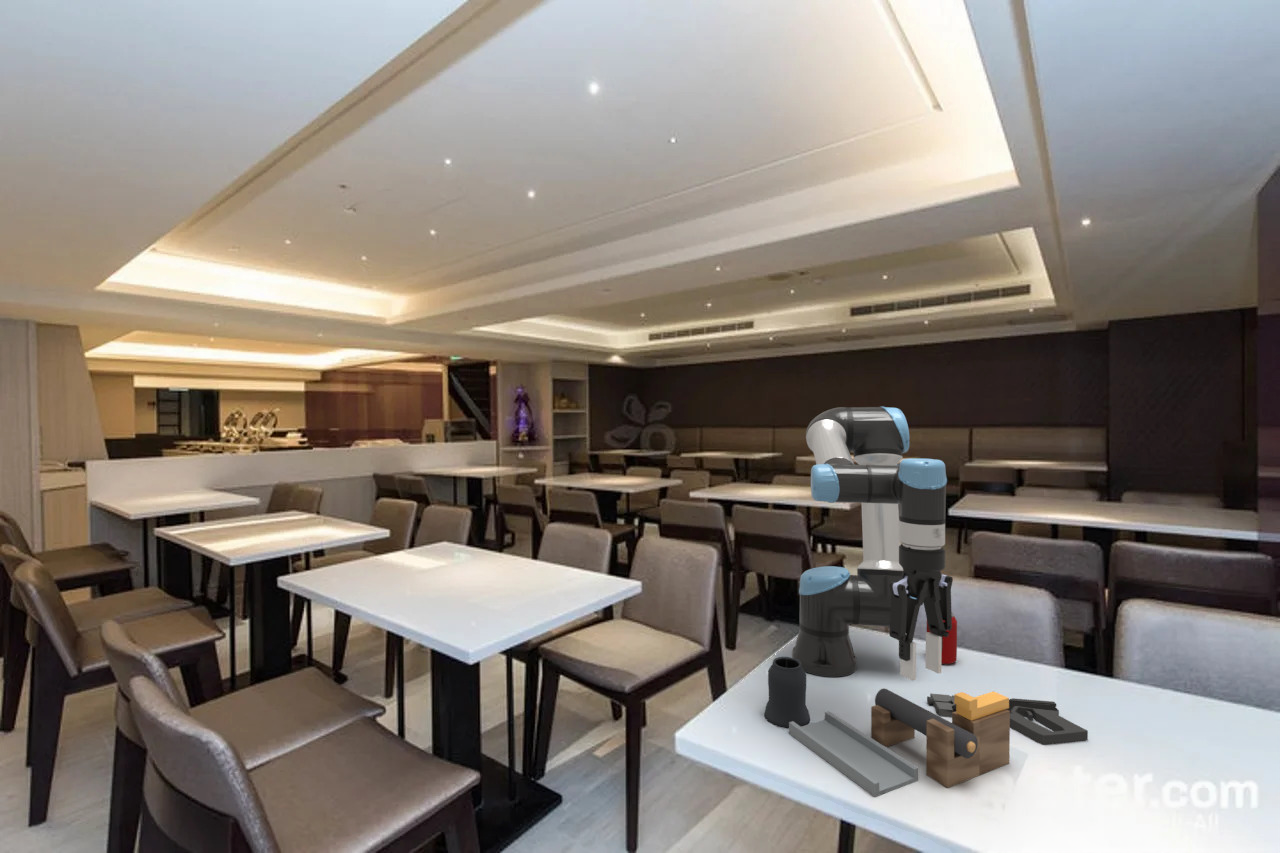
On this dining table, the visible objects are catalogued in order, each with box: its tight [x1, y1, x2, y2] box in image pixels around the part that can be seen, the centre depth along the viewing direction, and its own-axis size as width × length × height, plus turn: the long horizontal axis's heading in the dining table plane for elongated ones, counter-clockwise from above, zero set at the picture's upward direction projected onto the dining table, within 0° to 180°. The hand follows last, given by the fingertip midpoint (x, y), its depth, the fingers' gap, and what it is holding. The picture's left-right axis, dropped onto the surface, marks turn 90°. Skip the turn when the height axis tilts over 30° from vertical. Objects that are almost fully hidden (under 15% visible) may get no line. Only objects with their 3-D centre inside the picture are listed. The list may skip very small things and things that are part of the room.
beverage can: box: [926, 612, 958, 665], centre depth 147 cm, size 7×7×12 cm
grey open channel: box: [788, 710, 919, 797], centre depth 106 cm, size 21×10×2 cm, turn 25°
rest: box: [870, 705, 916, 748], centre depth 112 cm, size 3×8×6 cm, turn 115°
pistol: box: [926, 692, 1089, 746], centre depth 118 cm, size 2×26×15 cm
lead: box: [874, 688, 978, 758], centre depth 106 cm, size 19×4×4 cm, turn 25°
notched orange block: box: [954, 691, 1010, 721], centre depth 103 cm, size 3×10×3 cm, turn 115°
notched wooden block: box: [925, 709, 1011, 789], centre depth 102 cm, size 4×16×9 cm, turn 115°
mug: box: [763, 656, 811, 730], centre depth 121 cm, size 12×9×11 cm
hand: (920, 673), depth 106 cm, fingers open, 6 cm apart
